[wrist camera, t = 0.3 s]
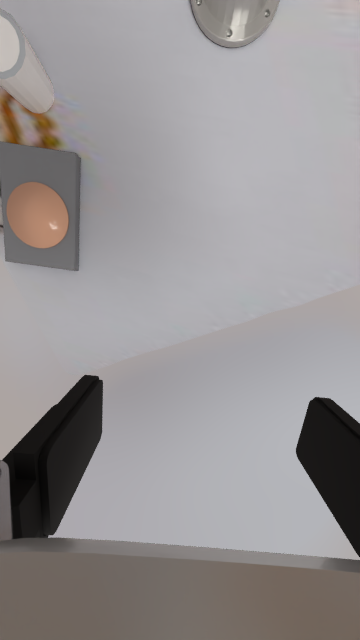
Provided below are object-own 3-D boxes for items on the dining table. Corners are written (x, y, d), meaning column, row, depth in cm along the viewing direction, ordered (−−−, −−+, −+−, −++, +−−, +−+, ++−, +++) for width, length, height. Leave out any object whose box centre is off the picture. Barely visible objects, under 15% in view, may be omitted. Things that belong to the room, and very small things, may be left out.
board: (6, 146, 33) (-2, 141, 32) (80, 158, 34) (76, 153, 32) (12, 261, 38) (5, 261, 36) (78, 270, 38) (74, 270, 36)
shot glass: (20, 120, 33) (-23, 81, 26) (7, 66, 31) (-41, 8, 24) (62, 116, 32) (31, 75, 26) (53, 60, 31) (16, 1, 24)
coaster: (6, 178, 33) (4, 177, 33) (69, 187, 33) (68, 186, 33) (10, 244, 35) (8, 243, 35) (68, 252, 36) (67, 252, 35)
